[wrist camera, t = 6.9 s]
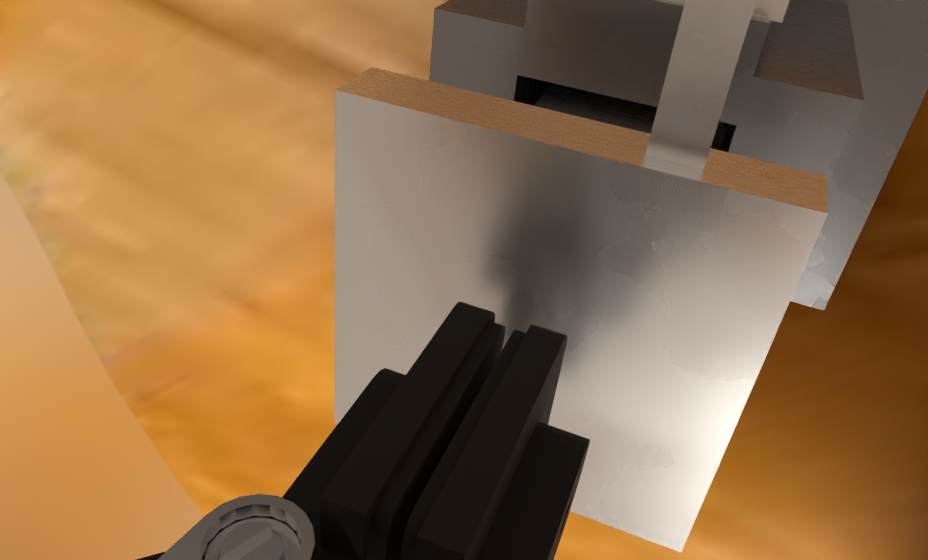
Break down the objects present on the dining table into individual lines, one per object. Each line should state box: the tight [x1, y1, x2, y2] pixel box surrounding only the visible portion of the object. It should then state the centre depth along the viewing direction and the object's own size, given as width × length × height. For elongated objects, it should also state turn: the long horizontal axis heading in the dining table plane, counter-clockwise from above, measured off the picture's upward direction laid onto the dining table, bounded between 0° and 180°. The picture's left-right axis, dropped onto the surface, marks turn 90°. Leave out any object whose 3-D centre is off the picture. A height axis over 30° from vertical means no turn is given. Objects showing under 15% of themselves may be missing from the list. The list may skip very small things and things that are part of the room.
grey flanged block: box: [335, 0, 828, 552], centre depth 15 cm, size 7×9×9 cm
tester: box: [429, 0, 928, 311], centre depth 20 cm, size 14×12×9 cm
